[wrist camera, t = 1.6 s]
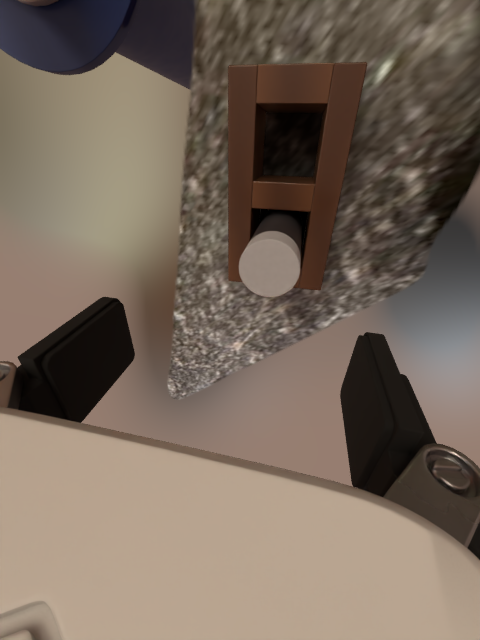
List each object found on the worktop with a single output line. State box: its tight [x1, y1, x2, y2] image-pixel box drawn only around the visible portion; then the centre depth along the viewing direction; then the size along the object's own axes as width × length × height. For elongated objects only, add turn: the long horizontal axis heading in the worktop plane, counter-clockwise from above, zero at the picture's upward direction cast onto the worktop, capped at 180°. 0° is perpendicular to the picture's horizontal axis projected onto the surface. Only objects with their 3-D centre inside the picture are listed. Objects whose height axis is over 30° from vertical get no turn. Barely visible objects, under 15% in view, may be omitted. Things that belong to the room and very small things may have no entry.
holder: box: [228, 62, 367, 290], centre depth 24 cm, size 9×16×6 cm, turn 178°
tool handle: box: [239, 209, 302, 297], centre depth 23 cm, size 4×4×13 cm
